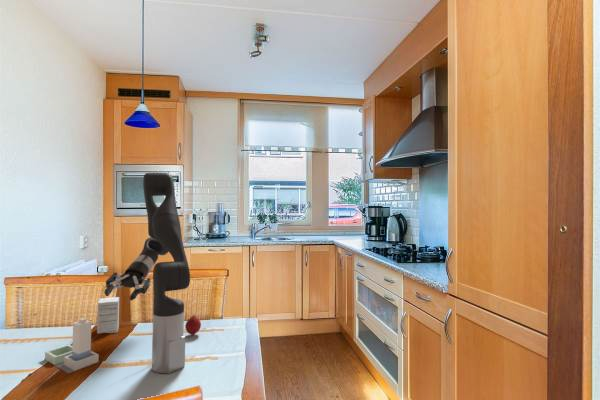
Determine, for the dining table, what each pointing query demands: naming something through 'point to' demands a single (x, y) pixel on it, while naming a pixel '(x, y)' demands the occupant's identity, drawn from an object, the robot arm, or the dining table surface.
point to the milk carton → (81, 339)
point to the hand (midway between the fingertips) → (118, 296)
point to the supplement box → (108, 315)
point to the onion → (193, 325)
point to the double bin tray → (69, 359)
